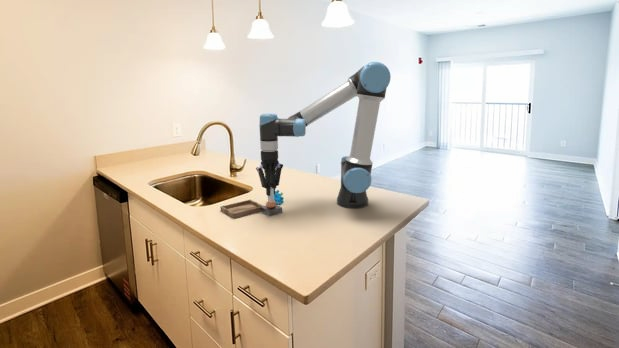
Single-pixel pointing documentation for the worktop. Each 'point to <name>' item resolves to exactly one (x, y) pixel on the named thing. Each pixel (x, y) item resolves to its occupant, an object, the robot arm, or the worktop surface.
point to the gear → (278, 197)
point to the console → (271, 210)
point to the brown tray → (241, 209)
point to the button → (270, 204)
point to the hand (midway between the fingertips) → (271, 201)
